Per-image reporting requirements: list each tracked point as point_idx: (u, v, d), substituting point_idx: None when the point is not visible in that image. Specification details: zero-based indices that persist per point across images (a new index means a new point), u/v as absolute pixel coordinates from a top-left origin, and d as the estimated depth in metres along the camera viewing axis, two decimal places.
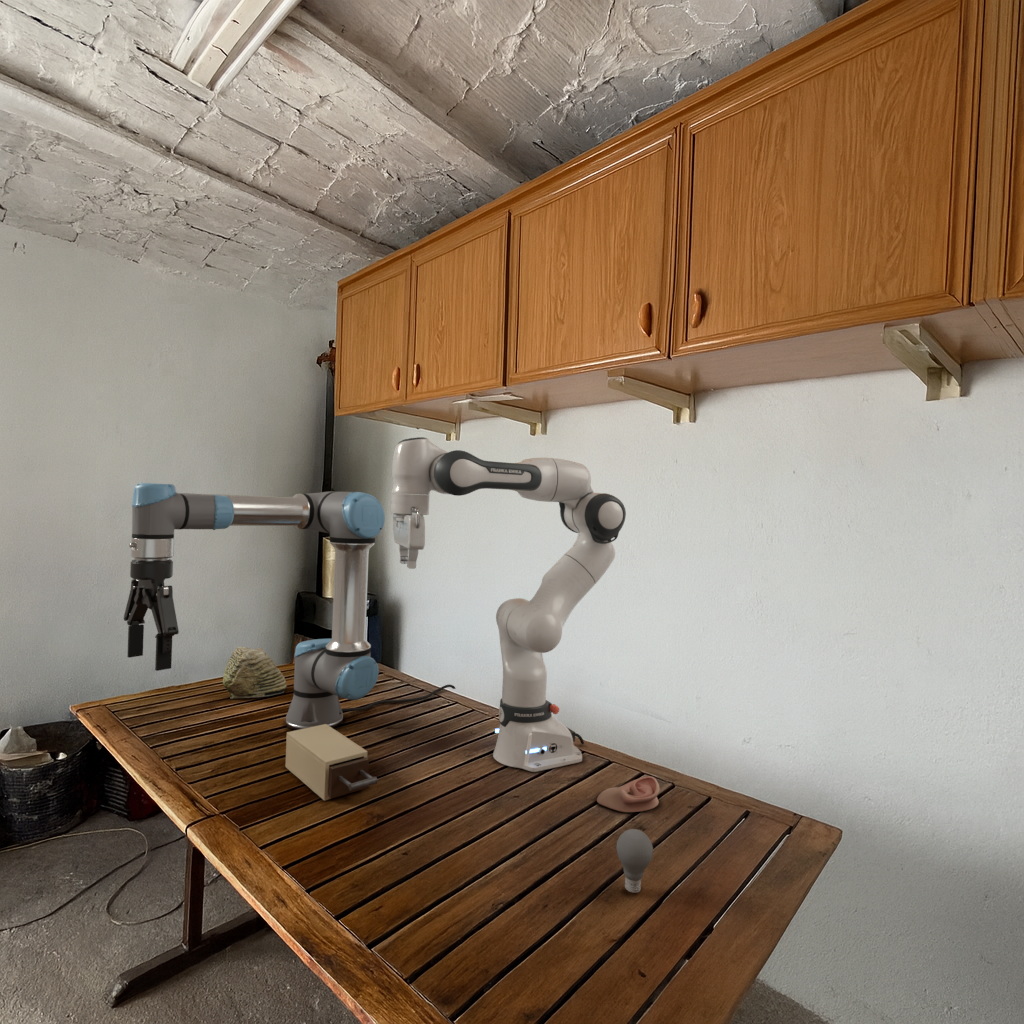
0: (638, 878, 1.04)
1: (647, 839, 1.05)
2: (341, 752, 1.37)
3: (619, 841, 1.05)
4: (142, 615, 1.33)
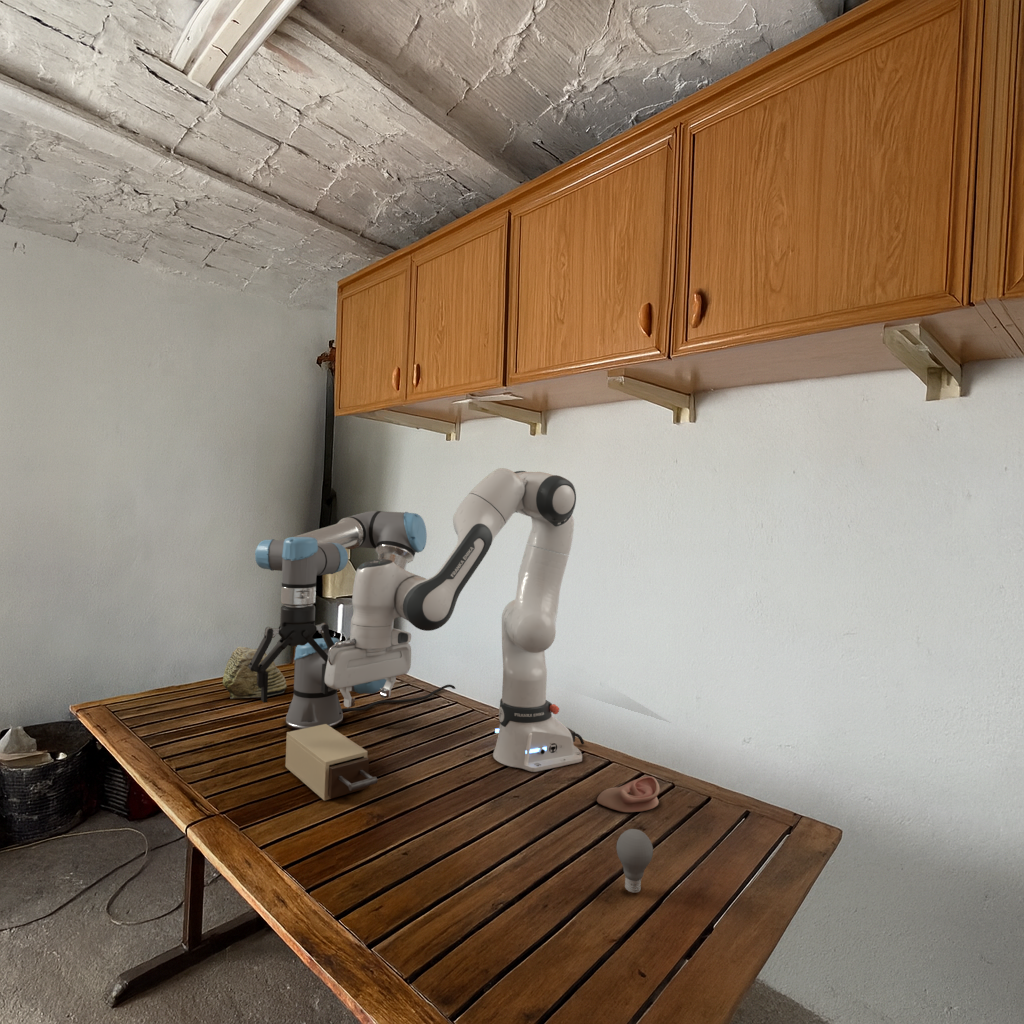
0: (638, 878, 1.04)
1: (647, 839, 1.05)
2: (341, 752, 1.37)
3: (619, 841, 1.05)
4: None
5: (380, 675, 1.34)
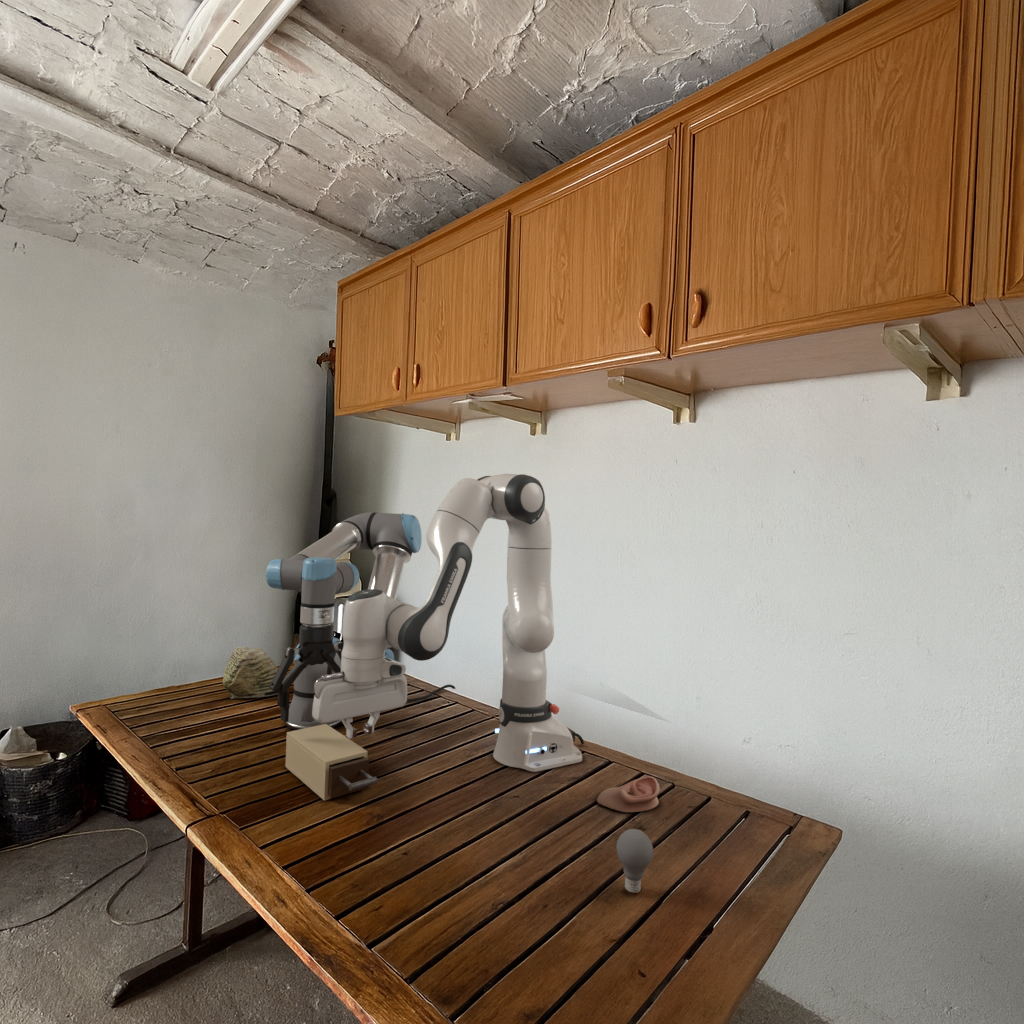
0: (638, 878, 1.04)
1: (647, 839, 1.05)
2: (341, 752, 1.37)
3: (619, 841, 1.05)
4: None
5: (372, 708, 1.31)
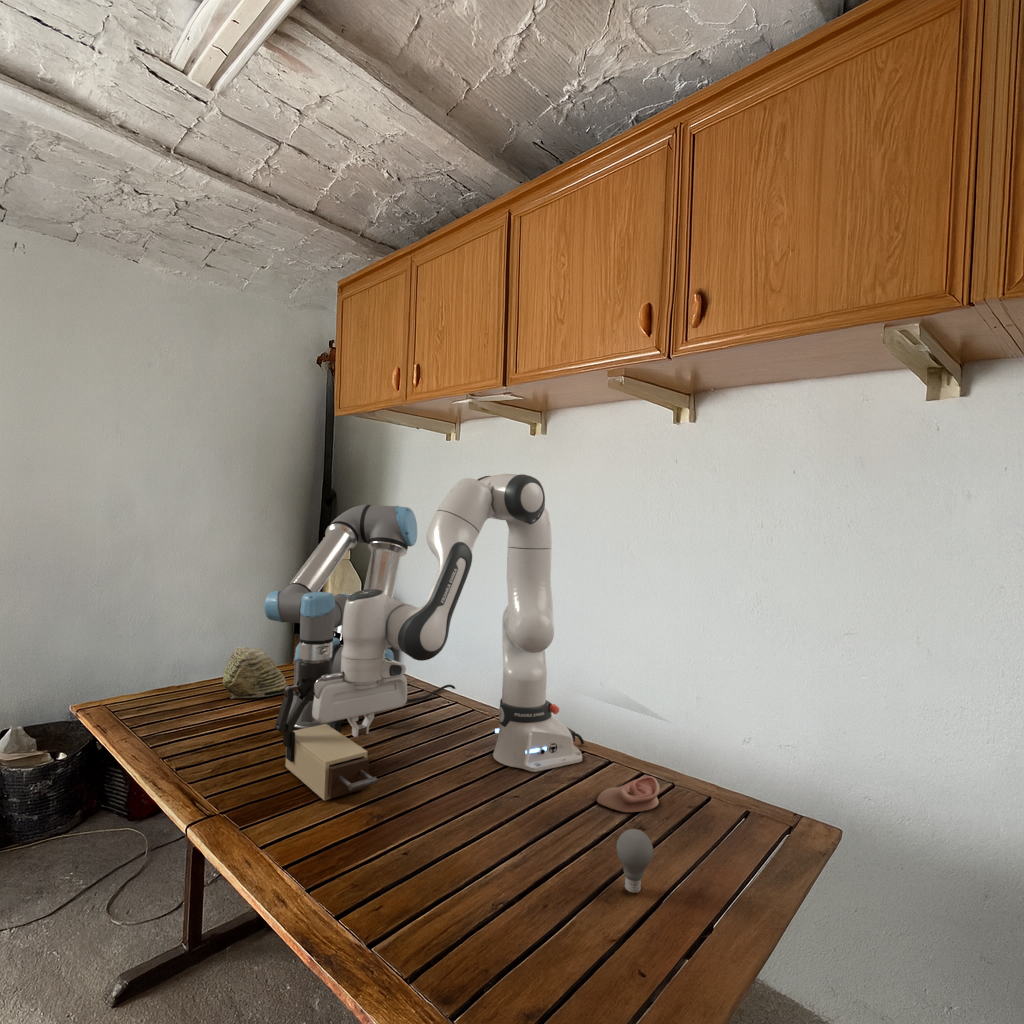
0: (638, 878, 1.04)
1: (647, 839, 1.05)
2: (341, 752, 1.37)
3: (619, 841, 1.05)
4: None
5: (372, 708, 1.31)
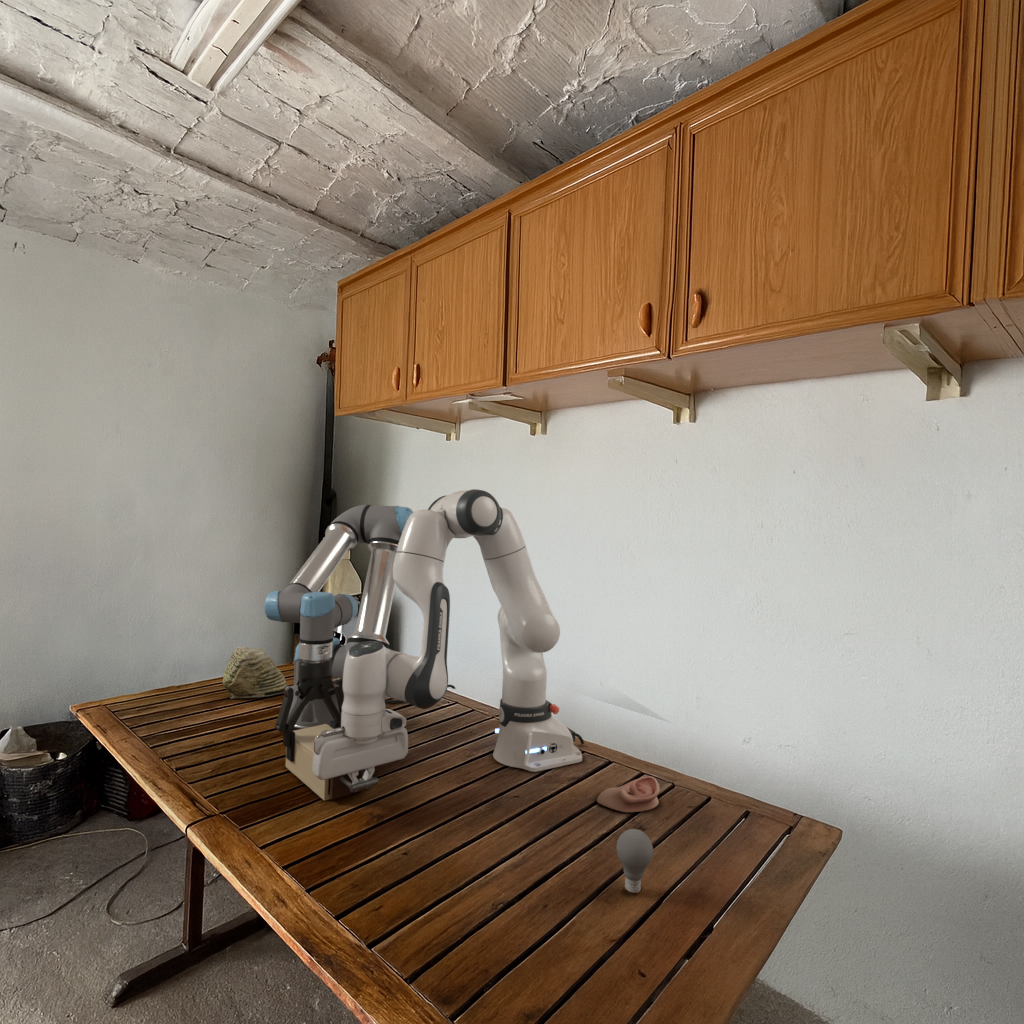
0: (638, 878, 1.04)
1: (647, 839, 1.05)
2: None
3: (619, 841, 1.05)
4: None
5: (372, 762, 1.30)
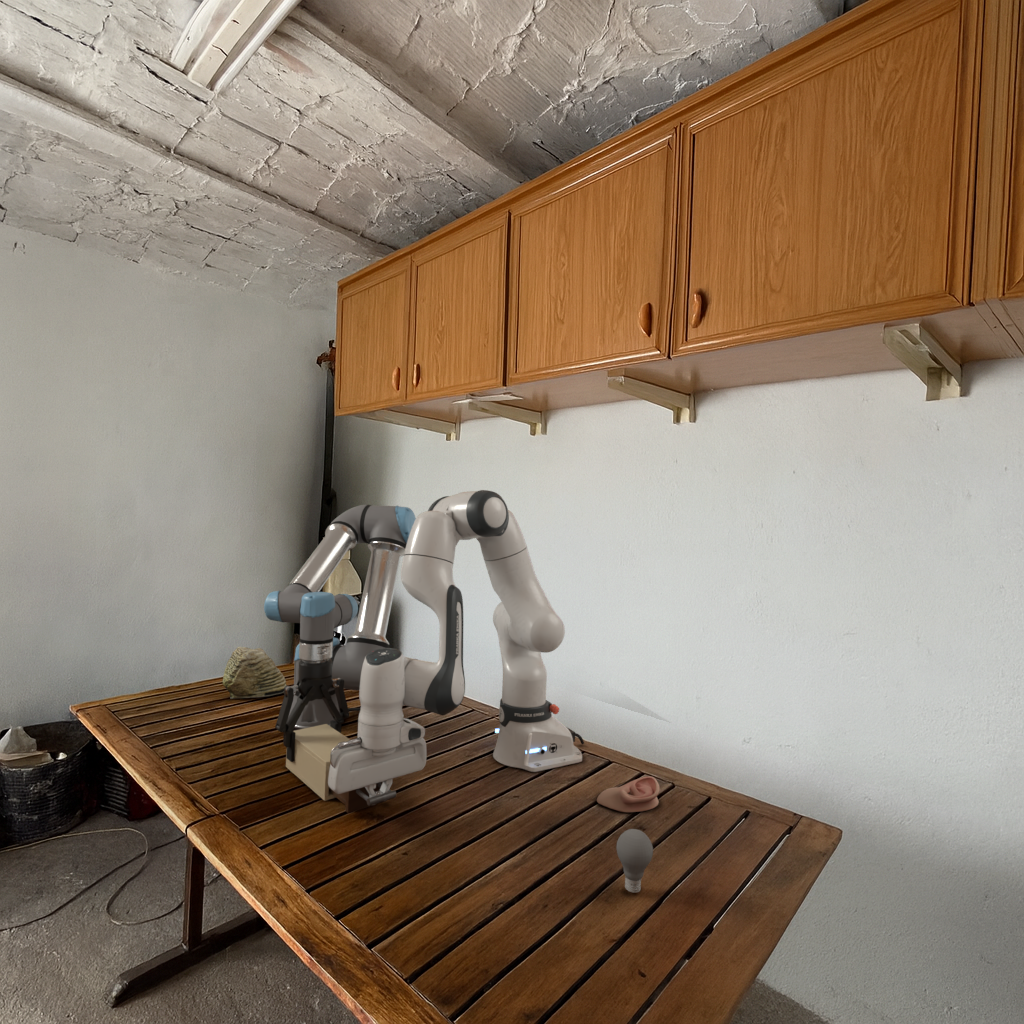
0: (638, 878, 1.04)
1: (647, 839, 1.05)
2: None
3: (619, 841, 1.05)
4: None
5: (390, 775, 1.25)
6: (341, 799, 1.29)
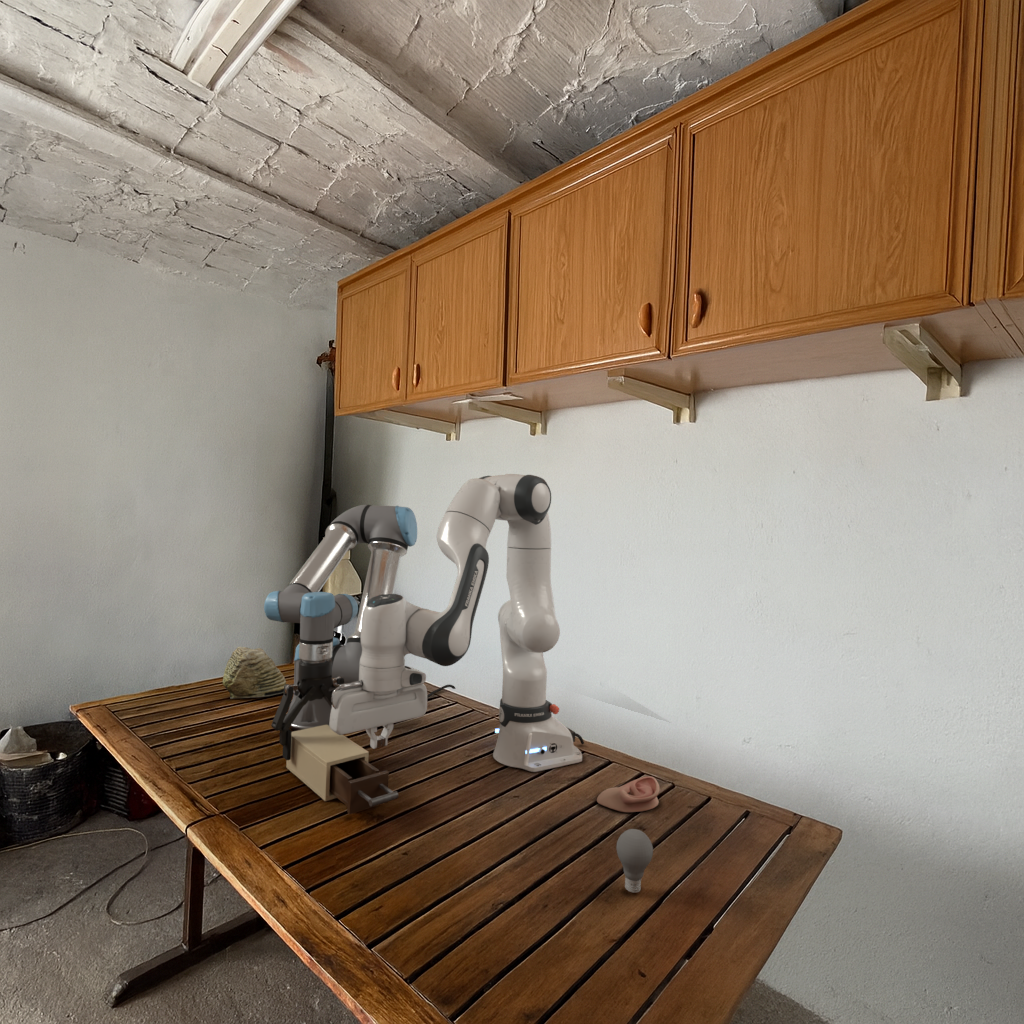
0: (638, 878, 1.04)
1: (647, 839, 1.05)
2: (342, 752, 1.37)
3: (619, 841, 1.05)
4: None
5: (391, 719, 1.25)
6: (342, 800, 1.29)
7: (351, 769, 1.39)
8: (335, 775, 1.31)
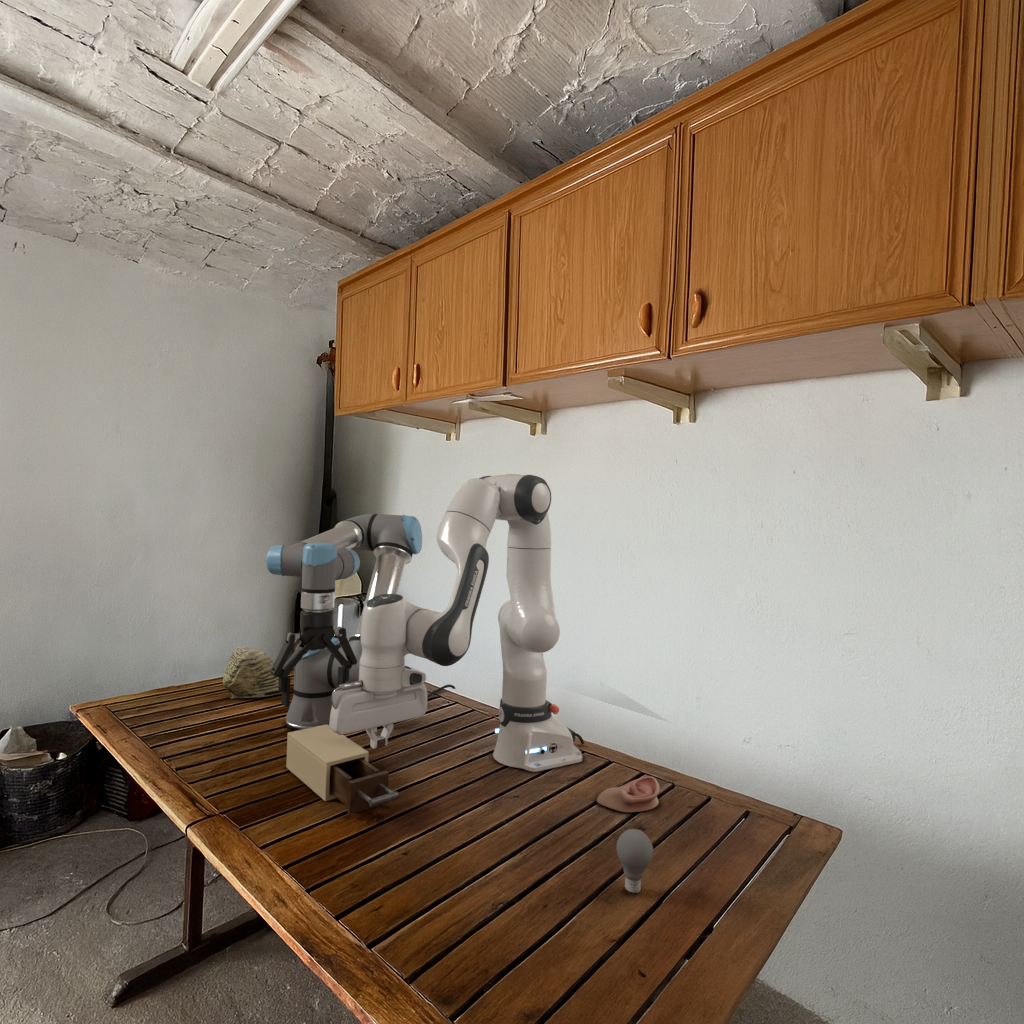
0: (638, 878, 1.04)
1: (647, 839, 1.05)
2: (342, 752, 1.37)
3: (619, 841, 1.05)
4: None
5: (391, 719, 1.25)
6: (342, 800, 1.29)
7: (351, 769, 1.39)
8: (335, 775, 1.31)
